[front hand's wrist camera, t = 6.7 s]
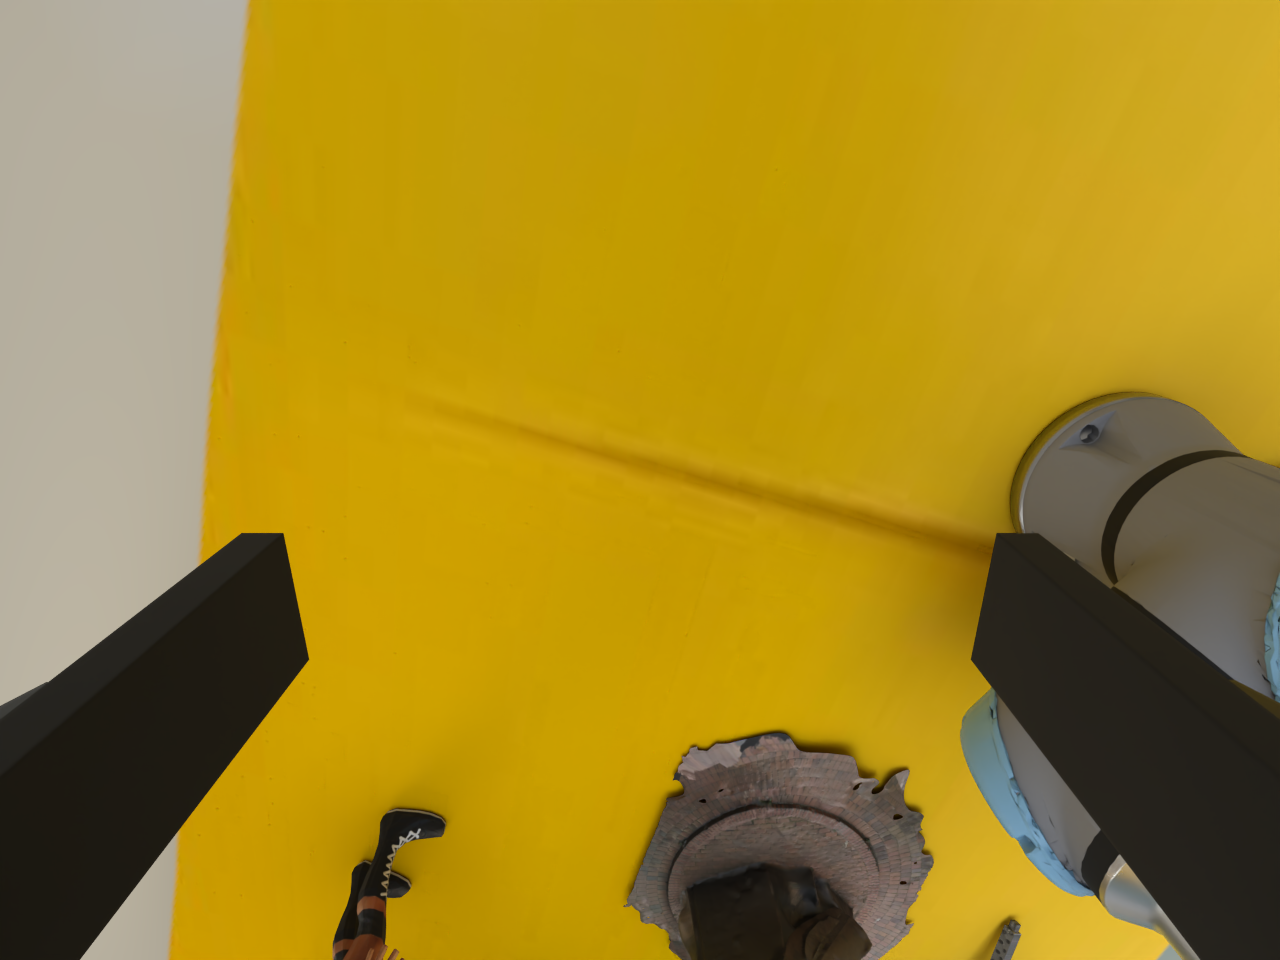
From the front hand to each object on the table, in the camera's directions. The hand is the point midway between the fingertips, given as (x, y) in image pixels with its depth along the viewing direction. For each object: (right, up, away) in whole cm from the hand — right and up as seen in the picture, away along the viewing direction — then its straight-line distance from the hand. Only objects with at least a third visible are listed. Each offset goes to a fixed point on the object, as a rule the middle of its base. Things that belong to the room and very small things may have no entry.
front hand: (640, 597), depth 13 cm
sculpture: (+14, -37, +56) cm, 69 cm away
